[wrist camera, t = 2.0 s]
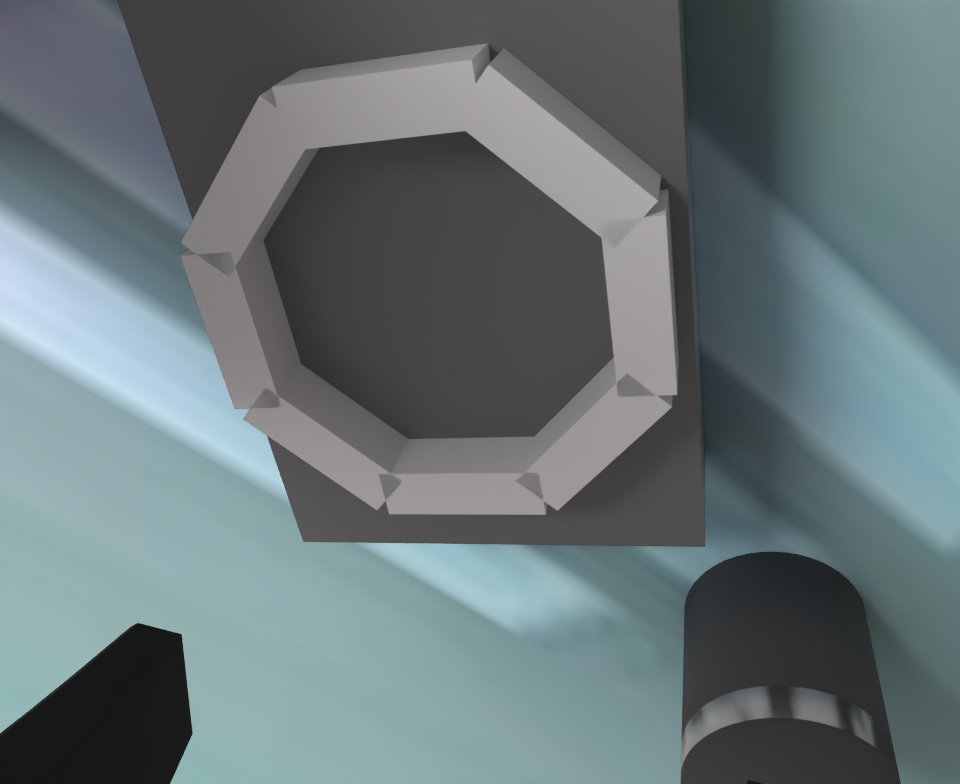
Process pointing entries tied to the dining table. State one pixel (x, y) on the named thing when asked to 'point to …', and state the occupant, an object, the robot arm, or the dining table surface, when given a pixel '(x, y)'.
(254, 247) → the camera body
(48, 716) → the robot arm
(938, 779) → the dining table surface
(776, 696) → the lens
